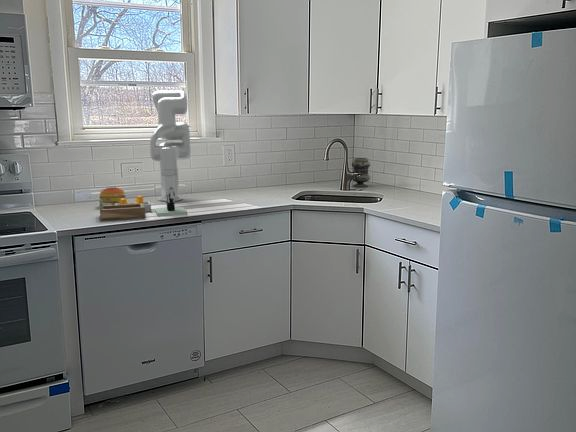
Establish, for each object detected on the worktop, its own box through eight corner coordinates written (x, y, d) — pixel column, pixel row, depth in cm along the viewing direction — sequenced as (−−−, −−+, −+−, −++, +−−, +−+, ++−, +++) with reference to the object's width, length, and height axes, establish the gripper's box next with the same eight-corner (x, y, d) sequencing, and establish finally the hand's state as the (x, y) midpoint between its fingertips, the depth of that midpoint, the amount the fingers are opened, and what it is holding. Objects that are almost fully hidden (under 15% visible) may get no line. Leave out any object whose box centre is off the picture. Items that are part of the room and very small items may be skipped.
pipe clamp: (125, 212, 278) (124, 199, 276) (120, 211, 280) (119, 198, 279) (145, 209, 287) (145, 196, 285) (140, 208, 289) (139, 195, 288)
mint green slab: (155, 211, 281) (154, 198, 280) (183, 210, 285) (183, 197, 284) (157, 216, 270) (157, 202, 269) (187, 214, 274) (186, 201, 273)
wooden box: (100, 216, 271) (99, 199, 269) (143, 213, 277) (142, 197, 276) (100, 220, 260) (99, 203, 258) (145, 217, 266) (144, 201, 265)
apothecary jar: (365, 188, 353) (366, 159, 350) (347, 186, 359) (348, 158, 356) (372, 185, 363) (373, 157, 360) (355, 184, 369) (356, 156, 366)
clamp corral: (115, 210, 285) (115, 203, 284) (149, 208, 290) (149, 201, 289) (116, 213, 277) (116, 206, 276) (151, 211, 282) (150, 204, 282)
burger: (130, 204, 302) (129, 185, 300) (121, 209, 288) (119, 189, 286) (105, 204, 302) (104, 185, 300) (95, 208, 289) (94, 189, 287)
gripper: (159, 171, 280) (161, 207, 284) (163, 175, 265) (165, 213, 269) (174, 170, 283) (176, 206, 286) (179, 174, 267) (181, 212, 271)
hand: (170, 209), depth 277 cm, fingers closed on mint green slab, 3 cm apart
